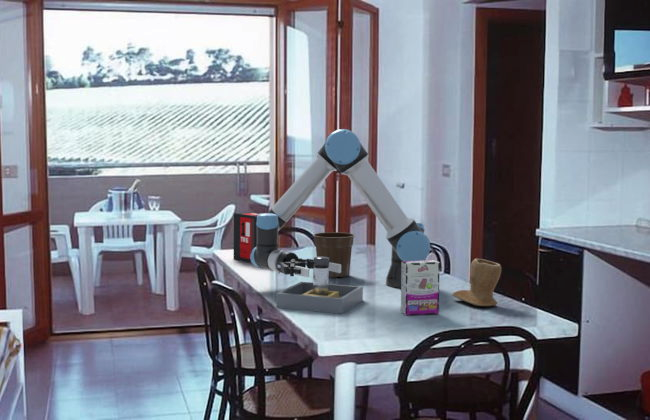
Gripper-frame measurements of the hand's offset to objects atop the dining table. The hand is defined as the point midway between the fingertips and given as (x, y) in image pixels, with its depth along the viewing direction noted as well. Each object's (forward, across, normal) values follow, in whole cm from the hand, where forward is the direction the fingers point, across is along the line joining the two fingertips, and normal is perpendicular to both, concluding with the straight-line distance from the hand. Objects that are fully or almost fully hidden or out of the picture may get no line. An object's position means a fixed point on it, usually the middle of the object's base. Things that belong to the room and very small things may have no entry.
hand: (324, 270), depth 263 cm
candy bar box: (+27, -16, -11) cm, 33 cm away
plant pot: (-39, -38, -11) cm, 55 cm away
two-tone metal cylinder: (-2, 0, -10) cm, 10 cm away
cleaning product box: (-86, -34, -11) cm, 93 cm away
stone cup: (+29, -42, -11) cm, 53 cm away
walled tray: (-2, 0, -11) cm, 11 cm away
